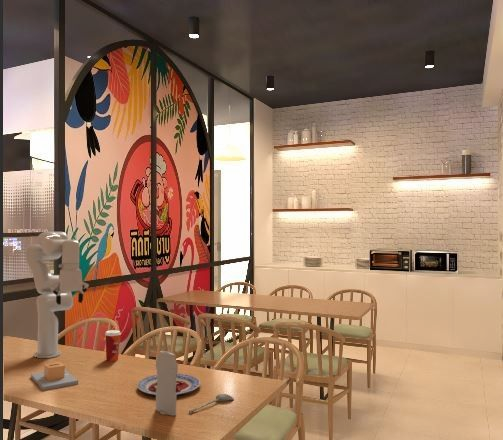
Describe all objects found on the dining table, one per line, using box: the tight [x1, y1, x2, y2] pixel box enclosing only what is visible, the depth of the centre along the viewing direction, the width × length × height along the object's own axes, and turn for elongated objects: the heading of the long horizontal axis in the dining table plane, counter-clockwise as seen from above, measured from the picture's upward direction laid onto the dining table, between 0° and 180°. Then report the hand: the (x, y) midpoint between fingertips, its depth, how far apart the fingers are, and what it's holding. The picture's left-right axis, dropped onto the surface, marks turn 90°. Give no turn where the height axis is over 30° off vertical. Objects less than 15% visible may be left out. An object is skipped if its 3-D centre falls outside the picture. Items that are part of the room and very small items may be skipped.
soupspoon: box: [188, 393, 235, 415], centre depth 176 cm, size 22×3×7 cm
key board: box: [30, 369, 79, 392], centre depth 200 cm, size 20×14×5 cm
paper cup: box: [104, 329, 122, 362], centre depth 233 cm, size 8×8×14 cm
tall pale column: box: [155, 350, 179, 417], centre depth 169 cm, size 11×4×22 cm, turn 56°
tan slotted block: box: [43, 361, 66, 381], centre depth 200 cm, size 7×7×5 cm
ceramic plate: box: [136, 373, 201, 396], centre depth 194 cm, size 26×26×3 cm
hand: (69, 303), depth 218 cm, fingers open, 9 cm apart
